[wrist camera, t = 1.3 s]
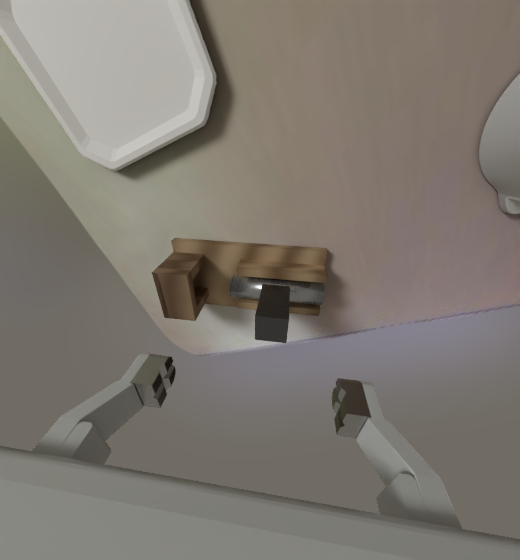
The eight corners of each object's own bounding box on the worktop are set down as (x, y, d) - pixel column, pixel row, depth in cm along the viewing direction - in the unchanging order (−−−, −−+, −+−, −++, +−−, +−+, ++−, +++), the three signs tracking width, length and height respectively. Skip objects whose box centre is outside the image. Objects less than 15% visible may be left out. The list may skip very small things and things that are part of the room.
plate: (108, 178, 33) (97, 180, 31) (-24, -24, 24) (-51, -37, 22) (233, 113, 27) (229, 112, 25) (123, -194, 18) (103, -233, 16)
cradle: (326, 248, 34) (333, 275, 28) (314, 309, 41) (318, 343, 34) (174, 238, 37) (148, 260, 30) (186, 297, 43) (167, 326, 37)
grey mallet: (323, 276, 35) (332, 323, 26) (318, 296, 37) (326, 347, 28) (234, 269, 36) (214, 311, 28) (235, 289, 39) (217, 335, 30)
